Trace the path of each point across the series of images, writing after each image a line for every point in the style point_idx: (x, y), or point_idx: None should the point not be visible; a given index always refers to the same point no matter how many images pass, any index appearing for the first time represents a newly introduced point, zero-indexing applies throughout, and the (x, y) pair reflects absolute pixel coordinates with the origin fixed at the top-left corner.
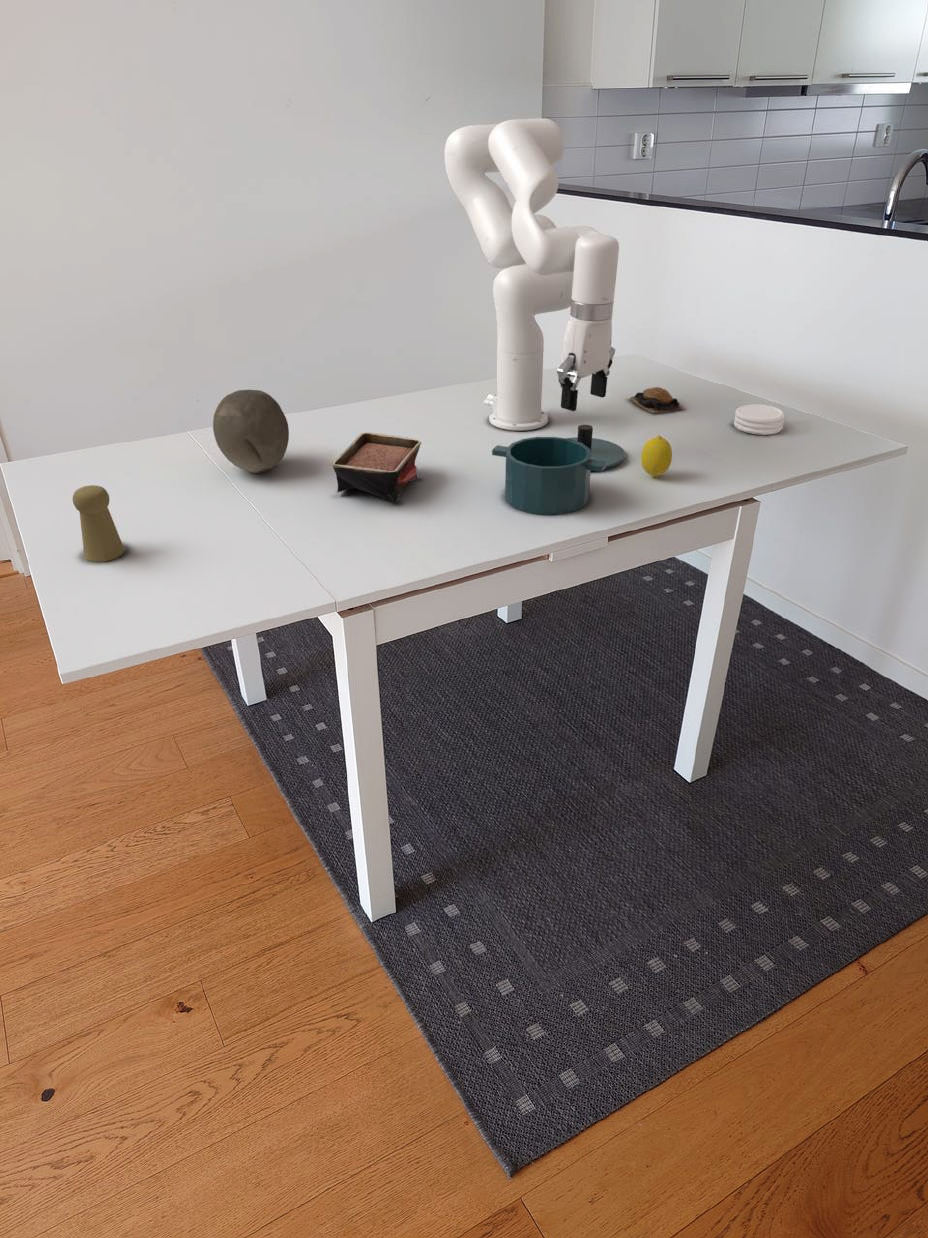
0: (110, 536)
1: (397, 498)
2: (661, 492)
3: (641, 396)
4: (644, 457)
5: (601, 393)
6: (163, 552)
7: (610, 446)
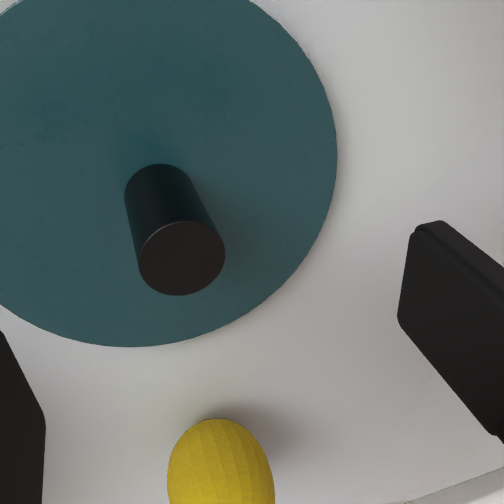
0: None
1: None
2: (133, 492)
3: None
4: (171, 493)
5: (413, 327)
6: None
7: (290, 220)
